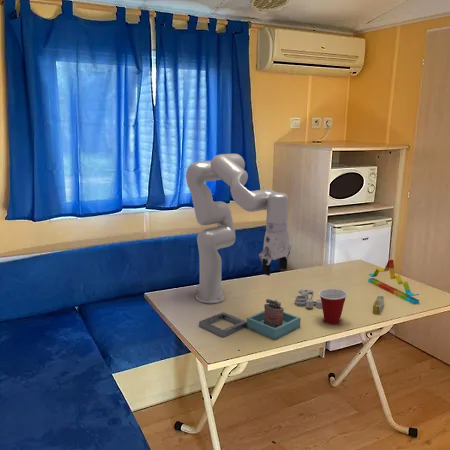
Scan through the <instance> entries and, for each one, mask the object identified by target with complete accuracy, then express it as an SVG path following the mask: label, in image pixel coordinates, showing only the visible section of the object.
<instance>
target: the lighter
mask: <svg viewBox="0 0 450 450" xmlns="http://www.w3.org/2000/svg"><path fill="white" fill-rule="evenodd" d="M281 305H282V302H279V301H278V299H275V300H273V299H271V298H270V299H269V298H266V299H265V304H263V308H264V310H263V311H264V324H266V325H269V326H271V327H274V328H277V327H279V326H281V325H283V312H285V311H284V310H285V309H284V307H282V306H281Z"/></svg>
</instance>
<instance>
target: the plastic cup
mask: <svg viewBox="0 0 450 450" xmlns="http://www.w3.org/2000/svg"><path fill="white" fill-rule="evenodd" d="M318 296H319V297H320V300H321V301H322V308H321V309H322V313H323V320H324V322H325V323H326V324H328V325H336V324H339V323H340V321H341V315H342V312H343V308H344V305H345V301H346V298H347V296H348V292H347V291H345V290H343V289H340V288H325V289H321V290H320V291H319V292H318Z"/></svg>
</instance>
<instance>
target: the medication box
mask: <svg viewBox="0 0 450 450" xmlns="http://www.w3.org/2000/svg"><path fill="white" fill-rule="evenodd" d="M384 304H385V297H384V296H382V295H377V297H376V299H375V301H374V303H373V305H372V314H373V315H377V316H380V314H381V312H382V310H383V308H384Z"/></svg>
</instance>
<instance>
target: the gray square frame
mask: <svg viewBox="0 0 450 450" xmlns="http://www.w3.org/2000/svg"><path fill="white" fill-rule="evenodd" d="M222 320H225V321H227V322H230V323H232V324H234V325H231V326H230V327H227V328H225V329H223V328H220V327H218V326H215V325H214V324H215V323H216V322H219V321H222ZM198 326H199V327H200V328H202V329H204V330H206V331H208V332H211V333H213V334H214V335H217V336H219V337H221V338H225V337H227V336H230V335H232V334H234V333H237V332H239V331H241V330H244V329H247V320H244V319H241V318H239V317H238V316H237V317H236V316H234V315H232V314H229V313H227V312H224V311H222V312H220V313H218V314H215V315H212V316H210V317H208V318H205V319H201V320H200V321H199V322H198Z"/></svg>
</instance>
